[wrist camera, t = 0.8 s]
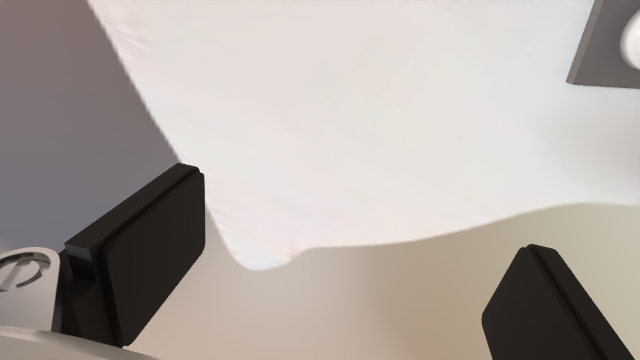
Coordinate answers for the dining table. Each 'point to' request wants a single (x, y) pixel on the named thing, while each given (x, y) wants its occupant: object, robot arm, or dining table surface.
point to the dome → (631, 42)
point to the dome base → (605, 47)
